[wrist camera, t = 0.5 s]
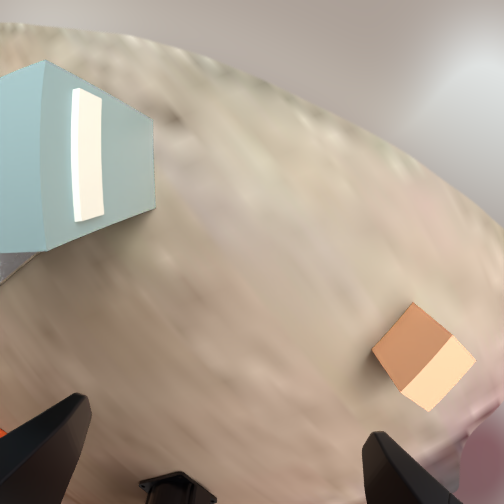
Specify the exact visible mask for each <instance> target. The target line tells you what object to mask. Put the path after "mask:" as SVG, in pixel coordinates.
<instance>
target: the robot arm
mask: <svg viewBox="0 0 504 504" xmlns="http://www.w3.org/2000/svg"><path fill="white" fill-rule="evenodd" d="M91 417H92V412H91V408H90V404H89V400H88V397H87V396H86V395H83V394H80V393H73V394H72V395H70V396H69V397H67V398H65V399H64V400H62V401H60V402H59V403H57V404H56V405H54V406H52V407H51V408H49V409H47V410H46V411H44V412H42V413H41V414H39V415H38V416H36V417H34V418H33V419H31V420H29V421H28V422H26V423H24V424H23V425H21V426H19V427H18V428H16V429H14V430H13V431H11V432H9V433H8V434H6V435H4V436H3V437H1V438H0V504H61V502H62V499H63V496H64V494H65V491H66V489H67V487H68V484H69V482H70V479H71V477H72V474H73V472H74V470H75V467H76V465H77V462H78V460H79V457H80V455H81V451H82V448H83V444H84V441H85V438H86V434H87V431H88V428H89V424H90V421H91ZM362 461H363V474H364V488H365V495H366V500H367V504H463V503H462V502H461V501H460V500H458V499H457V498H456V497H455V496H454V495H453V494H452V493H449V491H448V490H447V489H446V488H445V487H444V486H443V485H441V484H440V483H439V482H438V481H437V480H436V479H435V478H434V477H433V476H432V475H430V474H429V473H428V472H427V471H426V470H425V469H424V468H423V467H422V466H421V465H420V464H419V463H417V462H416V461H415V460H414V459H413V458H412V457H411V456H410V455H409V454H408V453H407V452H406V451H405V450H404V449H402V448H401V447H400V446H399V445H398V444H397V443H396V442H395V441H394V440H393V439H392V438H391V437H390V436H389V435H388V434H387V433H385V432H384V431H375V432H372V433H371V434H370V436H369V437H368V439H367V441H366V442H365V444H364V445H363V448H362ZM139 487H140V488H142V489H143V490H144V491H146V492H147V493H148V495H147V499H146V503H145V504H214V503H217V498H216V497H214V496H213V495H212V494H210V493H209V492H208V491H206V490H205V489H204V488H202V487H201V486H200V485H198V484H197V483H196V482H195V481H193V480H192V479H191V478H189V477H188V476H187V475H186V474H184V473H182V472H178V473H174V474H170V475H166V476H162V477H158V478H154V479H150V480H146V481H142V482H140V483H139Z"/></svg>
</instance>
